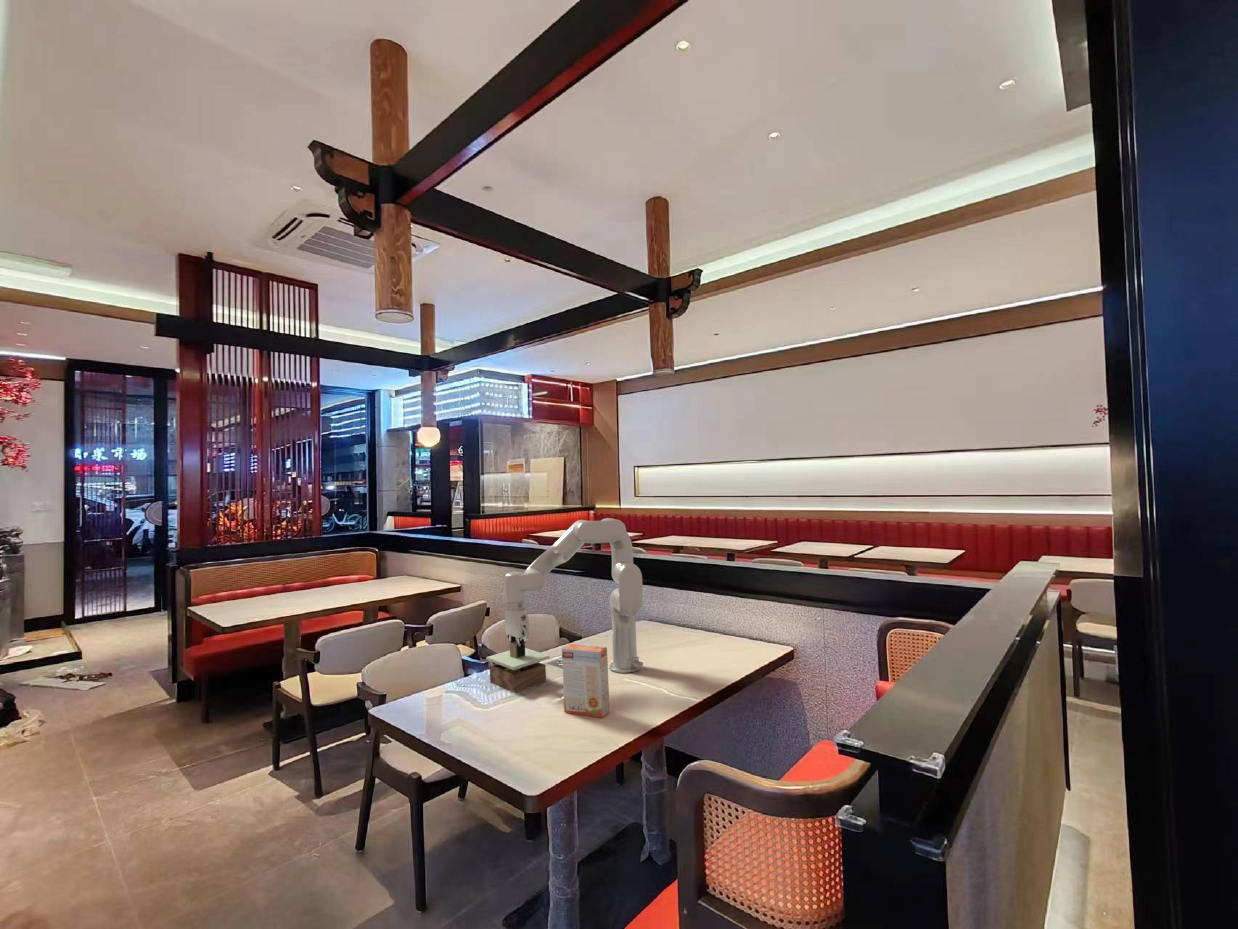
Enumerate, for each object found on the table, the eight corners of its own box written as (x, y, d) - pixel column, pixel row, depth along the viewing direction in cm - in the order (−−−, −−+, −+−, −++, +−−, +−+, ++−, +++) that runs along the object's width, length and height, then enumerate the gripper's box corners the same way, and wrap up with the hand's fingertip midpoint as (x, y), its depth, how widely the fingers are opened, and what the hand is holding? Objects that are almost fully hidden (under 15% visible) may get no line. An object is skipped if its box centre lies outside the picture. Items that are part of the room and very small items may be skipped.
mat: (591, 669, 220) (591, 668, 220) (555, 682, 207) (555, 681, 207) (560, 659, 234) (560, 658, 234) (524, 671, 221) (524, 670, 221)
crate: (546, 683, 206) (545, 664, 207) (514, 695, 197) (513, 675, 197) (521, 674, 218) (520, 656, 218) (490, 684, 208) (489, 665, 208)
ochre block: (520, 679, 210) (519, 668, 210) (511, 682, 207) (510, 671, 207) (514, 677, 212) (513, 666, 213) (505, 680, 210) (504, 669, 210)
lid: (549, 660, 207) (548, 642, 207) (513, 672, 195) (512, 652, 196) (521, 651, 219) (521, 634, 220) (486, 662, 208) (485, 643, 208)
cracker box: (610, 711, 179) (607, 646, 180) (602, 719, 174) (599, 651, 174) (572, 705, 185) (570, 642, 186) (563, 712, 180) (561, 647, 180)
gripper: (537, 606, 205) (539, 656, 204) (511, 601, 217) (513, 648, 216) (520, 610, 199) (522, 661, 199) (494, 604, 211) (496, 653, 211)
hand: (517, 654), depth 208 cm, fingers closed on lid, 4 cm apart
